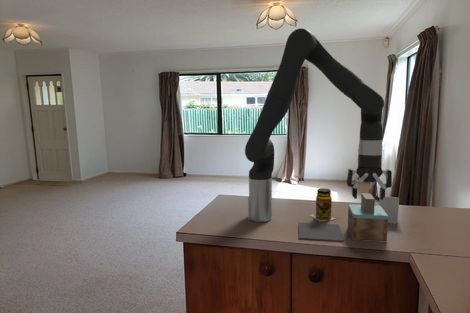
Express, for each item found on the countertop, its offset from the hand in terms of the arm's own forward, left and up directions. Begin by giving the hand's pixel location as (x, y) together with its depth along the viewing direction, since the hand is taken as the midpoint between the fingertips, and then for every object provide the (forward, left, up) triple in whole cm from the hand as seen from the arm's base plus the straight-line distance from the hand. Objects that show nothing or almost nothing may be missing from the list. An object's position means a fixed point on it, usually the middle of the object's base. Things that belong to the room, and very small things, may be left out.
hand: (368, 198), depth 114 cm
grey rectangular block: (+11, +15, -14) cm, 23 cm away
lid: (0, 0, -5) cm, 5 cm away
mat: (-16, 0, -13) cm, 21 cm away
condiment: (-14, +16, -14) cm, 25 cm away
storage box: (0, 0, -13) cm, 13 cm away
